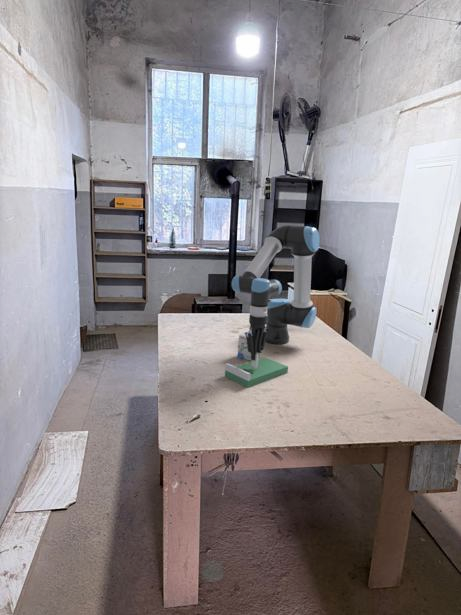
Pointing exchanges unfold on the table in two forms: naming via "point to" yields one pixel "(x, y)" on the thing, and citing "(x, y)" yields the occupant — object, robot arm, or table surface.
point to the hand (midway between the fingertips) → (254, 366)
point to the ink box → (243, 348)
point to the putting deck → (255, 372)
